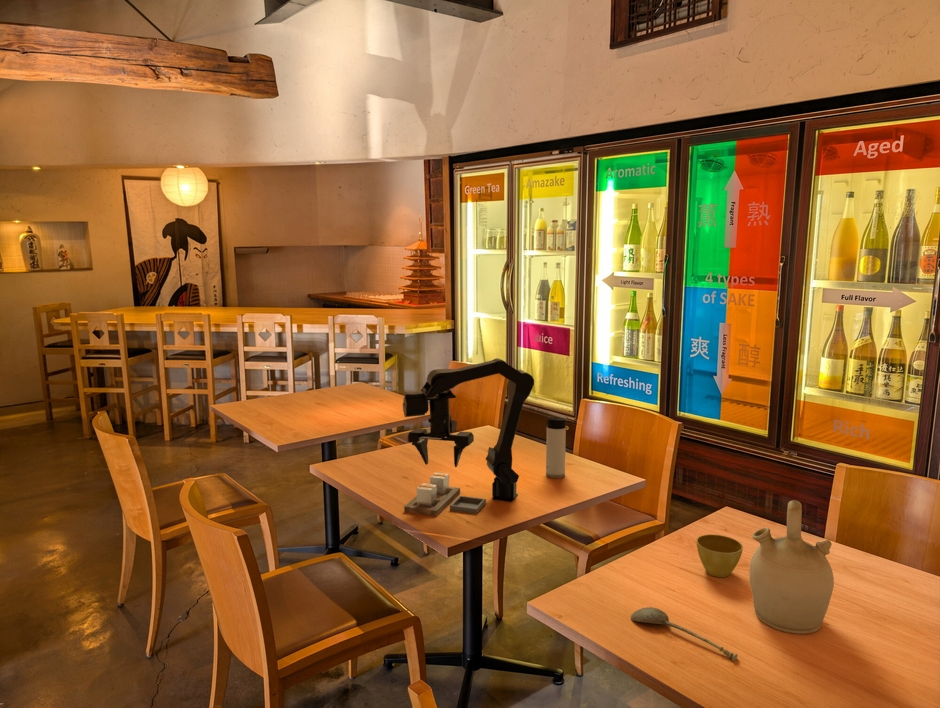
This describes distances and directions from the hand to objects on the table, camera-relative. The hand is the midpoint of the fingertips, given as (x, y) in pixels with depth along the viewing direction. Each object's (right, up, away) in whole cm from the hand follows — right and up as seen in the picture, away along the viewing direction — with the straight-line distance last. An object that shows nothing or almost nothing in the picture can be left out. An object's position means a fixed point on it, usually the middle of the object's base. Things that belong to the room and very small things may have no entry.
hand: (441, 465), depth 191 cm
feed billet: (-4, -13, -1) cm, 13 cm away
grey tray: (+8, -12, 0) cm, 15 cm away
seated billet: (-1, -11, +8) cm, 14 cm away
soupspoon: (+50, -23, -64) cm, 84 cm away
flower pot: (+66, -18, -39) cm, 79 cm away
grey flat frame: (-3, -12, +3) cm, 12 cm away
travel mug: (+37, -8, +27) cm, 46 cm away
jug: (+73, -21, -58) cm, 96 cm away
